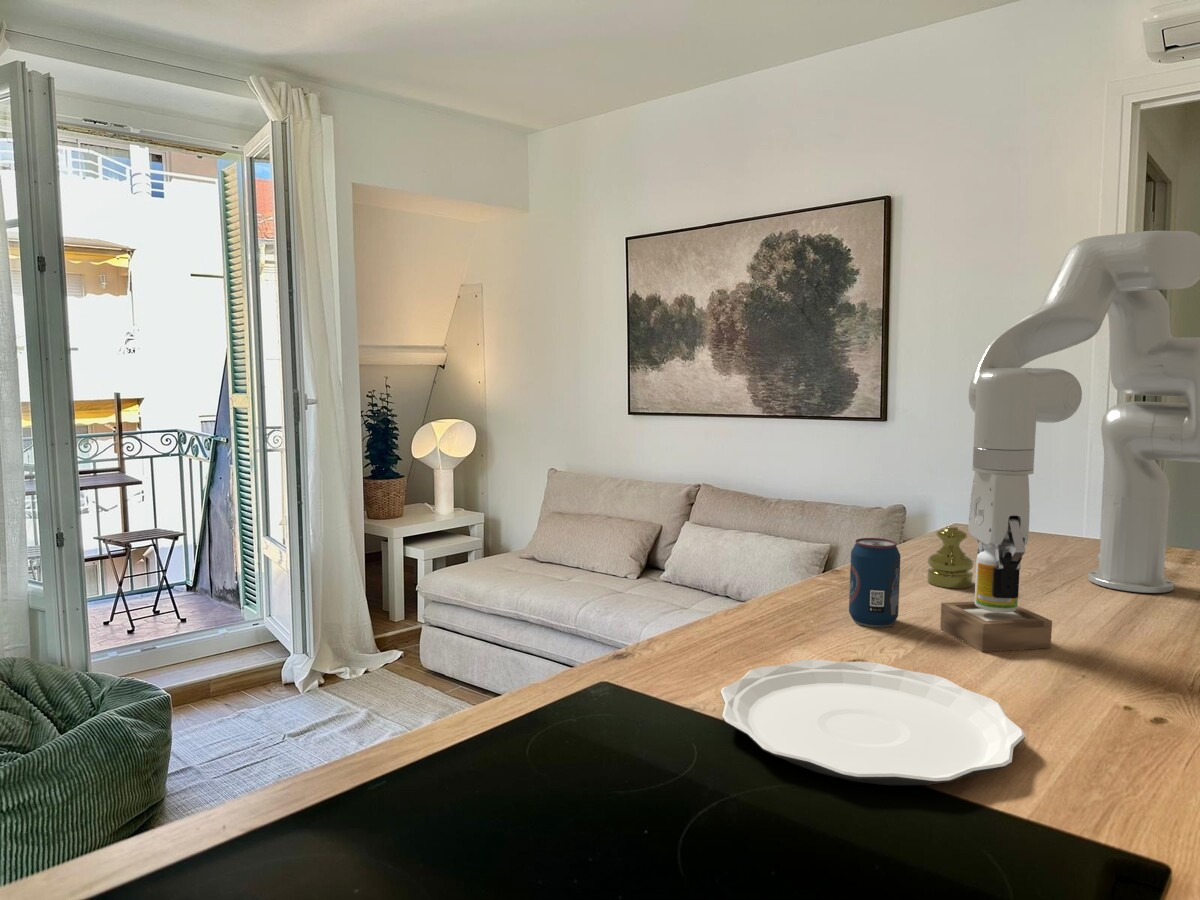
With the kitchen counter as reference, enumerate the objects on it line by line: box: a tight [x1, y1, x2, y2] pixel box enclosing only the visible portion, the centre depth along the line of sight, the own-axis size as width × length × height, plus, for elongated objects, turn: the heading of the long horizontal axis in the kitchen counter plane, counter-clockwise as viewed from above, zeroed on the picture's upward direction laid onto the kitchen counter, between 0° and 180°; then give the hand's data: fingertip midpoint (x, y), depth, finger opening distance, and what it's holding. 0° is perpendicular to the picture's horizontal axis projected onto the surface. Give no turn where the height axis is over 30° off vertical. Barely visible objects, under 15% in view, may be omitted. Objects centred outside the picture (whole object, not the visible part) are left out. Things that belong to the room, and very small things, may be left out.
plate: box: [720, 659, 1026, 786], centre depth 88 cm, size 29×29×2 cm
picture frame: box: [939, 601, 1053, 653], centre depth 117 cm, size 10×10×4 cm
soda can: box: [848, 537, 901, 628], centre depth 124 cm, size 7×7×12 cm
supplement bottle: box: [974, 541, 1019, 612], centre depth 116 cm, size 5×5×10 cm
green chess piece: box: [926, 525, 975, 589], centre depth 146 cm, size 7×7×10 cm
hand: (996, 590), depth 116 cm, fingers closed on supplement bottle, 5 cm apart
